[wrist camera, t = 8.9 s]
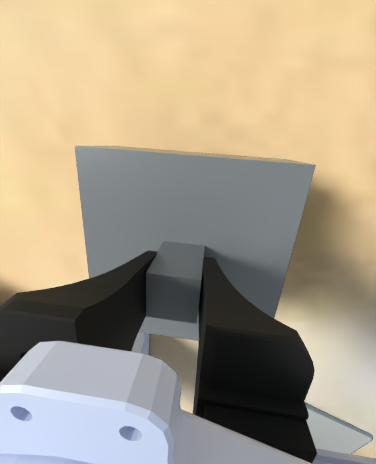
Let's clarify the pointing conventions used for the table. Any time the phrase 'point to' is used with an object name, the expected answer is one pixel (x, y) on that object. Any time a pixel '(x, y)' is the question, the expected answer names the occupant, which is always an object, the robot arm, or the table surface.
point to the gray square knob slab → (191, 224)
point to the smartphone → (334, 432)
